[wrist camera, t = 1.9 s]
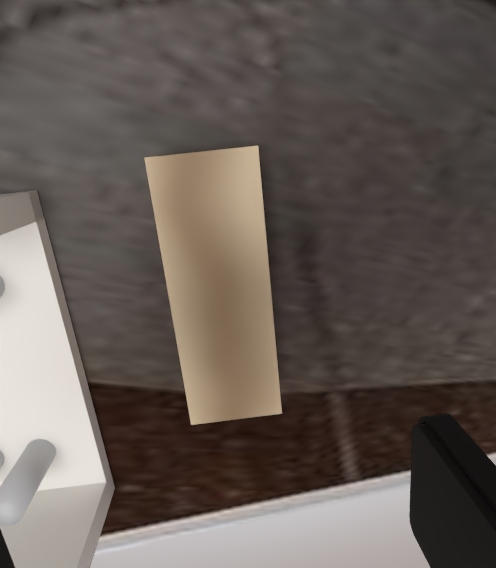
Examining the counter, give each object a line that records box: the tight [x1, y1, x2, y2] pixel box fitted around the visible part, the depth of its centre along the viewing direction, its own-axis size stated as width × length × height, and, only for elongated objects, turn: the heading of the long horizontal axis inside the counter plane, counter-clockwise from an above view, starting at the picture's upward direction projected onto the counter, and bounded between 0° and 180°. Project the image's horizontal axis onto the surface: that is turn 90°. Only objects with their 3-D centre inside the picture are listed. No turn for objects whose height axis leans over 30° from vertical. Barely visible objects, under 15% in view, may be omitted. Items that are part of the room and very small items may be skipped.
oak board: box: [145, 146, 282, 425], centre depth 22 cm, size 5×14×4 cm, turn 6°
